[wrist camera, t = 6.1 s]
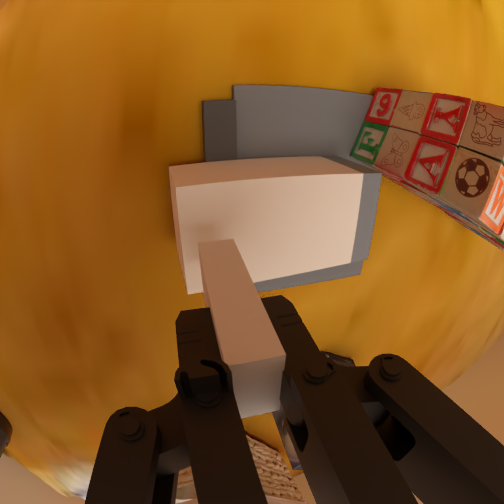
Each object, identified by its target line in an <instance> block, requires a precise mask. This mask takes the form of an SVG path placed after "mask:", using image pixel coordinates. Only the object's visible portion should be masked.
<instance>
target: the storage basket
mask: <svg viewBox="0 0 504 504" xmlns="http://www.w3.org/2000/svg"><path fill="white" fill-rule="evenodd" d="M246 437H247V440H248V443H249V447H250V450H251V453H252V456H253V460H254V463H255V466H256V469H257V472H258V475H259V478H260V482H261V485H262V488H263V491H264V494H265V497H266V499H267V502H268V504H308V502H305V499H304V498H303V496H302V493H301V492H300V491H299V490H298V488H297V485H296V484H295V481H294V479H293V478H292V475H291V473H290V470H289V469H288V468H287V465H286V463H285V461H284V460H283V458H282V455H281V454H280V453H279V452H277V451H276V450H273V449H271V448H269V447H267V446H266V445H265V444H263V443H260V442H259V441H257V440H254V439H252V438H250V437H249V436H248V435H246ZM175 504H198V500H197V495H196V490H195V485H194V480H193V475H192V470H191V466H190V467H187V468H185V469H183V470H180V471H179V476H178V484H177V493H176V502H175Z"/></svg>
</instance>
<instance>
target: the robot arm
mask: <svg viewBox="0 0 504 504" xmlns="http://www.w3.org/2000/svg"><path fill="white" fill-rule="evenodd" d="M198 249H199V259H200V268H201V277H202V285H203V294H204V300H205V305H206V308H200V309H193V310H185V311H181V312H180V314H179V316H178V318H177V320H176V322H175V323H176V335H177V347H178V358H179V368H178V369H177V371H176V372H175V379H174V381H175V384H176V387H177V390H178V393H177V395H176V396H175V398H173V399H172V400H171V401H170V402H169V403H167V404H165V405H163V406H161V407H158V408H156V409H153V410H151V411H148V412H147V411H146V410H145V409H141V408H138V407H125V408H122V409H120V410H117V411H116V412H115V413H114V414H112V415H111V416H110V418H109V420H108V421H107V423H106V426H105V429H104V432H103V436H102V439H101V443H100V446H99V450H98V453H97V457H96V460H95V464H94V468H93V472H92V476H91V480H90V484H89V488H88V492H87V496H86V500H85V504H175V502H176V493H177V484H178V476H179V471H180V470H183V469H185V468H187V467H190V466H191V470H192V475H193V480H194V485H195V490H196V495H197V500H198V504H268V502H267V499H266V497H265V494H264V491H263V488H262V485H261V482H260V478H259V475H258V472H257V469H256V466H255V463H254V460H253V456H252V453H251V450H250V447H249V443H248V440H247V437H246V433H245V430H244V427H243V423H242V420H241V418H246V417H251V416H256V415H260V414H265V413H269V412H273V411H278V410H279V409H280V402H281V405H282V407H283V410H284V412H285V418H284V424H283V429H282V430H283V436H284V435H287V431H288V434H289V437H290V439H291V442H292V444H293V447H294V449H295V452H296V454H297V457H298V459H299V462H300V464H301V467H302V469H303V472H304V474H305V477H306V479H307V481H308V484H309V486H310V489H311V491H312V494H313V496H314V498H315V501H316V503H317V504H418V502H417V501H416V499H415V497H414V495H413V494H412V492H413V493H414V494H415V495H416V496H417V497H418V498H419V499H420V500H421V501H422V502H423V503H424V504H504V446H503V445H502V444H501V443H500V442H499V441H498V440H497V439H495V438H494V437H493V436H492V435H491V434H490V433H489V432H488V431H486V430H485V429H484V428H483V427H482V426H481V425H479V424H478V423H477V422H476V421H475V420H474V419H473V418H472V417H471V416H469V415H468V414H467V413H466V412H465V411H464V410H463V409H461V408H460V407H459V406H458V405H457V404H456V403H454V402H453V401H452V400H451V399H450V398H449V397H448V396H447V395H445V394H444V393H443V392H442V391H441V390H440V389H438V388H437V387H436V386H435V385H434V384H433V383H432V382H430V381H429V380H428V379H427V378H426V377H425V376H423V375H422V374H421V373H420V372H419V371H418V370H416V369H415V368H414V367H413V366H412V365H410V364H409V363H408V362H407V361H406V360H404V359H403V358H401V357H399V356H397V355H394V354H381V355H378V356H376V357H375V358H374V359H373V360H372V361H371V362H370V364H369V366H358V367H347V366H340V365H337V364H336V363H335V362H334V361H333V360H331V359H329V358H328V357H326V356H323V355H322V354H321V352H320V351H319V349H318V347H317V345H316V344H315V342H314V340H313V339H312V337H311V335H310V333H309V332H308V330H307V328H306V326H305V325H304V323H303V322H302V319H301V318H300V316H299V315H298V312H297V311H296V309H295V307H294V306H293V304H292V303H291V302H290V301H289V300H287V299H286V298H285V297H283V296H282V295H278V296H272V297H266V298H260V297H259V294H258V292H257V290H256V288H255V285H254V283H253V281H252V279H251V277H250V274H249V272H248V270H247V268H246V265H245V263H244V261H243V259H242V257H241V254H240V252H239V250H238V248H237V245H236V243H235V241H234V239H226V240H217V241H209V242H201V243H198ZM11 434H12V428H11V425H10V424H9V422H8V421H7V419H6V418H5V417H4V416H3V415H2V414H1V413H0V457H1V455H2V453H3V451H4V448H5V447H6V446H8V444H9V442H10V439H11ZM411 491H412V492H411Z"/></svg>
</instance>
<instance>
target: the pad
mask: <svg viewBox="0 0 504 504" xmlns="http://www.w3.org/2000/svg"><path fill="white" fill-rule="evenodd" d="M232 94H233V100H215V101H202V119H203V144H204V162H215V161H226V160H239V159H255V158H273V157H301V156H338V157H341V158H344V159H347V160H349V161H352V162H355V163H357V164H360V165H362V166H365V167H368V168H370V169H373V168H371V167H369V166H367V165H365V164H364V163H362V162H360V161H358V160H356V159H354V158H352V157H351V152H352V150H353V148H354V145H355V143H356V141H357V138H358V136H359V133H360V131H361V128H362V126H363V124H364V122H365V117H366V115H367V112H368V110H369V107H370V104H371V102H372V99H373V97H374V96H373V95H367V94H361V93H354V92H347V91H339V90H330V89H321V88H310V87H296V86H276V85H233V86H232ZM373 170H374V169H373ZM375 171H376V170H375ZM362 264H363V260H361V261H357V262H352V263H348V264H343V265H338V266H334V267H329V268H324V269H319V270H315V271H310V272H305V273H300V274H295V275H290V276H285V277H280V278H275V279H270V280H265V281H260V282H255V283H254V285H255V288H256V290H257V292H264V291H271V290H277V289H283V288H289V287H295V286H301V285H306V284H312V283H318V282H323V281H329V280H334V279H340V278H345V277H350V276H355V275H360V273H361V269H362Z"/></svg>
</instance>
